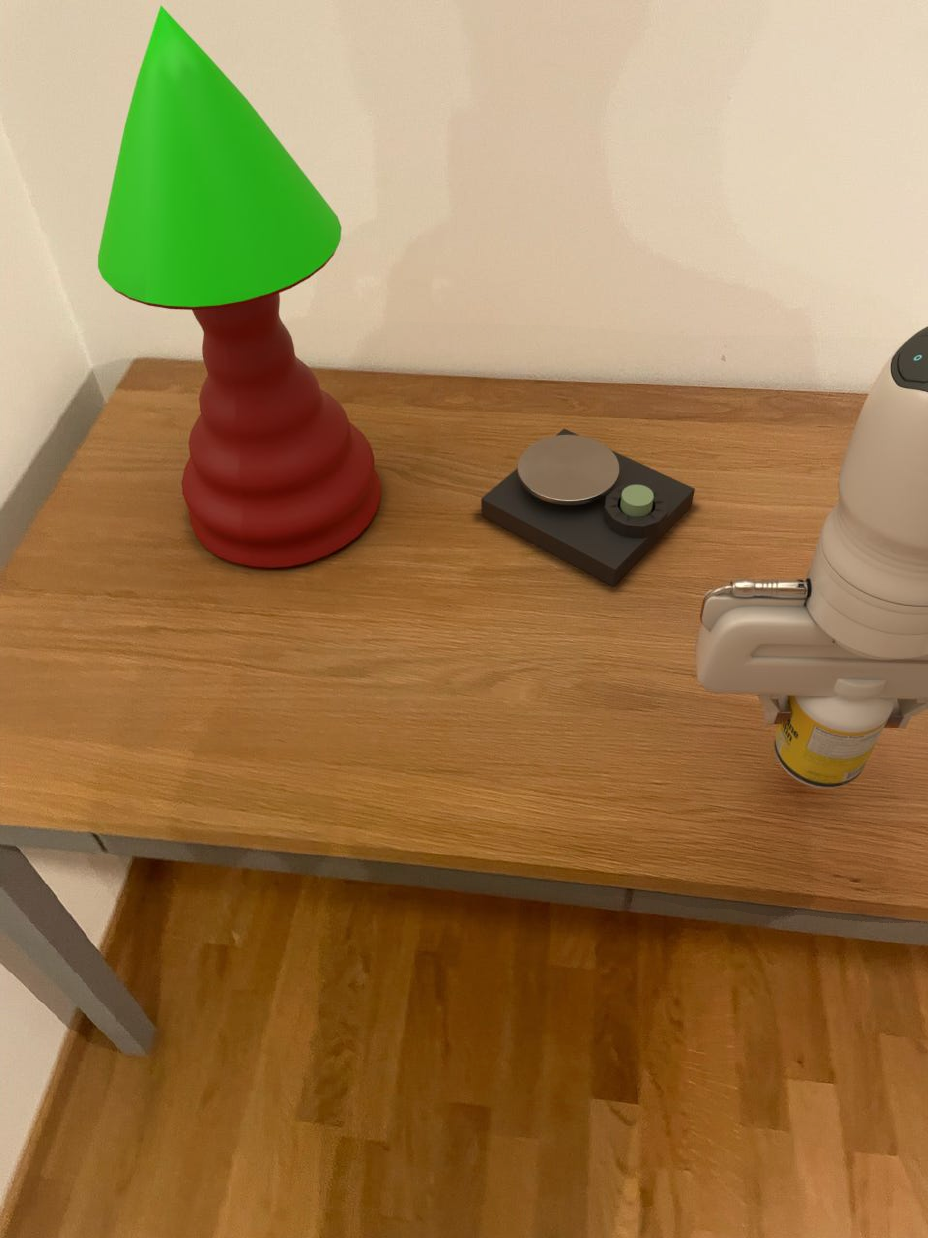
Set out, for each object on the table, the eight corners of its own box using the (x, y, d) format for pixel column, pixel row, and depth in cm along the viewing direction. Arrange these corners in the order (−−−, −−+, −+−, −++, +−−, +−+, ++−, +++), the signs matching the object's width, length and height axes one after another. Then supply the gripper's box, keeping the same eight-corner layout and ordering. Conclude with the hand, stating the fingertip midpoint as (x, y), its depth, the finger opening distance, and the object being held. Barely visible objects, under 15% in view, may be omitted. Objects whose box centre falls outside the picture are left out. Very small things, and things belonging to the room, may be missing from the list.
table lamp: (158, 556, 92) (-53, 52, 58) (236, 433, 104) (99, -42, 70) (347, 585, 88) (239, 65, 54) (404, 454, 101) (346, -37, 67)
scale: (695, 508, 93) (701, 477, 90) (617, 589, 86) (621, 559, 83) (563, 445, 100) (564, 415, 97) (481, 516, 94) (480, 486, 91)
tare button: (658, 505, 88) (659, 492, 87) (640, 522, 87) (642, 510, 86) (631, 492, 90) (633, 480, 89) (614, 508, 88) (615, 496, 87)
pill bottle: (796, 704, 71) (831, 604, 62) (878, 747, 68) (927, 647, 59) (756, 762, 68) (786, 665, 59) (840, 809, 65) (885, 714, 56)
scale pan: (638, 464, 92) (639, 459, 91) (580, 519, 87) (580, 515, 87) (557, 426, 96) (557, 422, 96) (497, 477, 91) (496, 472, 91)
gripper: (711, 620, 53) (684, 751, 64) (1089, 628, 51) (997, 762, 61) (702, 543, 57) (678, 678, 68) (1052, 547, 55) (972, 686, 66)
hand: (832, 718), depth 65 cm, fingers closed on pill bottle, 6 cm apart
